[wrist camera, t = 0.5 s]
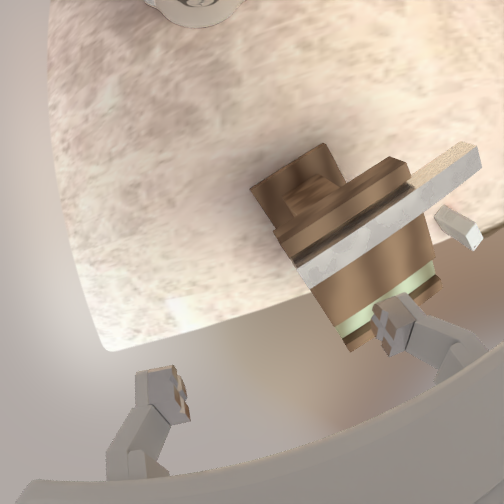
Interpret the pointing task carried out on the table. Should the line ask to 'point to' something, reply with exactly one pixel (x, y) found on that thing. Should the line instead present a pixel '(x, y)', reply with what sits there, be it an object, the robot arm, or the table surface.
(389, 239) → the walnut pedestal
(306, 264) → the aluminium bar
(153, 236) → the table surface
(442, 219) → the skincare box
